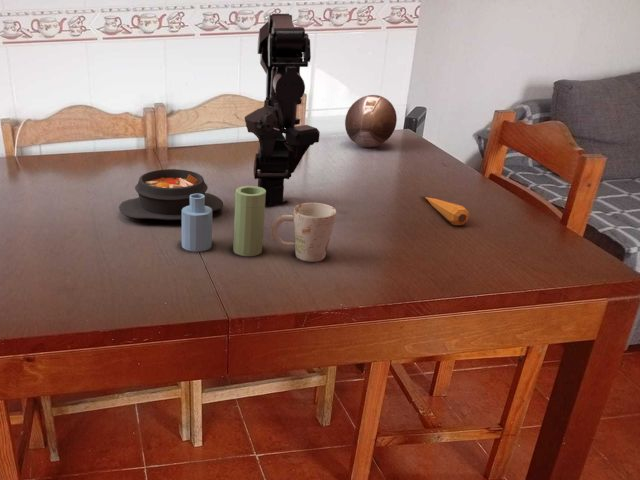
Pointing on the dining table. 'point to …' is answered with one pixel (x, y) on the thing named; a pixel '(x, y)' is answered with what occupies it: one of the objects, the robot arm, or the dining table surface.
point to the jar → (249, 220)
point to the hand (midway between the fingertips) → (278, 167)
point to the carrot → (450, 211)
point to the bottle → (197, 225)
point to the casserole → (167, 195)
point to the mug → (309, 230)
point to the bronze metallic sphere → (370, 121)
